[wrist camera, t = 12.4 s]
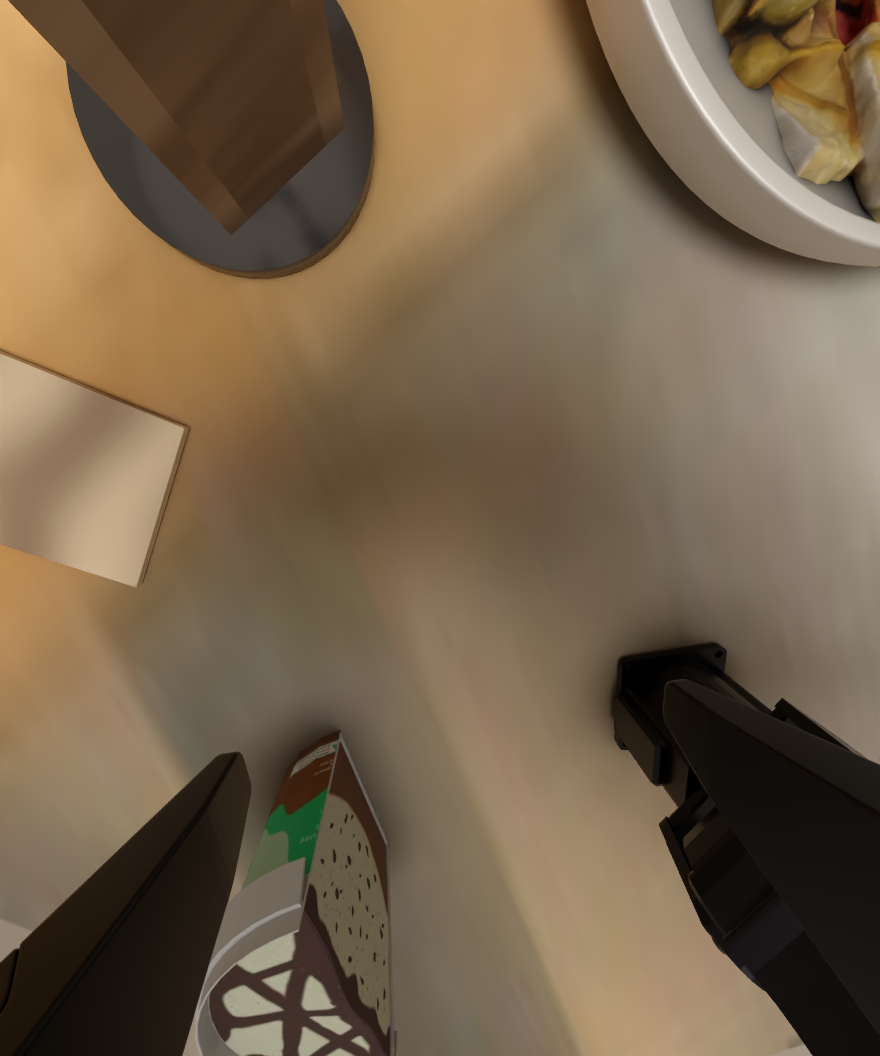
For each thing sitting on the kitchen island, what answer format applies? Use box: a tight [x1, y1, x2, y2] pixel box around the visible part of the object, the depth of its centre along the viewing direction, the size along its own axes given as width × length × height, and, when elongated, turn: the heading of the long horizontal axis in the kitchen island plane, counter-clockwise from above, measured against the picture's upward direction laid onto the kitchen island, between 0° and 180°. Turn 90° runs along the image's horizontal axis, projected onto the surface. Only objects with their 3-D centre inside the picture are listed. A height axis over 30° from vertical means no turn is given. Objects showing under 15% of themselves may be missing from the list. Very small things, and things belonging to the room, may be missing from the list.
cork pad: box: [0, 350, 189, 587], centre depth 18 cm, size 8×8×1 cm
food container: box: [195, 731, 398, 1056], centre depth 20 cm, size 12×6×10 cm, turn 15°
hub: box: [66, 0, 374, 278], centre depth 13 cm, size 10×10×5 cm
